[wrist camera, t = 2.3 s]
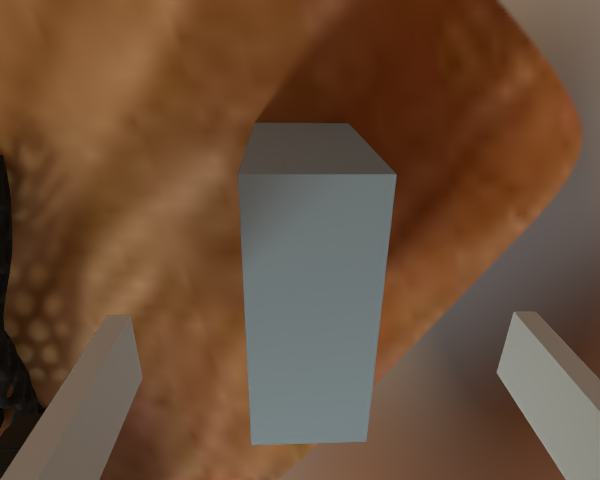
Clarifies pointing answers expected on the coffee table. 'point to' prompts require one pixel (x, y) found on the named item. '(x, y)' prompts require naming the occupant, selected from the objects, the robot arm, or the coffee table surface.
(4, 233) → the decorative element
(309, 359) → the slate block
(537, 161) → the coffee table surface
